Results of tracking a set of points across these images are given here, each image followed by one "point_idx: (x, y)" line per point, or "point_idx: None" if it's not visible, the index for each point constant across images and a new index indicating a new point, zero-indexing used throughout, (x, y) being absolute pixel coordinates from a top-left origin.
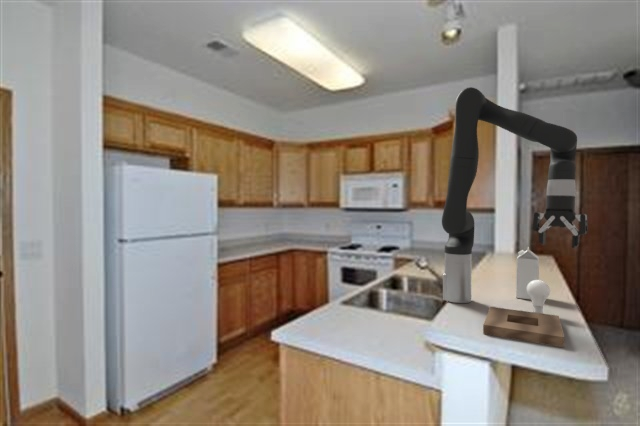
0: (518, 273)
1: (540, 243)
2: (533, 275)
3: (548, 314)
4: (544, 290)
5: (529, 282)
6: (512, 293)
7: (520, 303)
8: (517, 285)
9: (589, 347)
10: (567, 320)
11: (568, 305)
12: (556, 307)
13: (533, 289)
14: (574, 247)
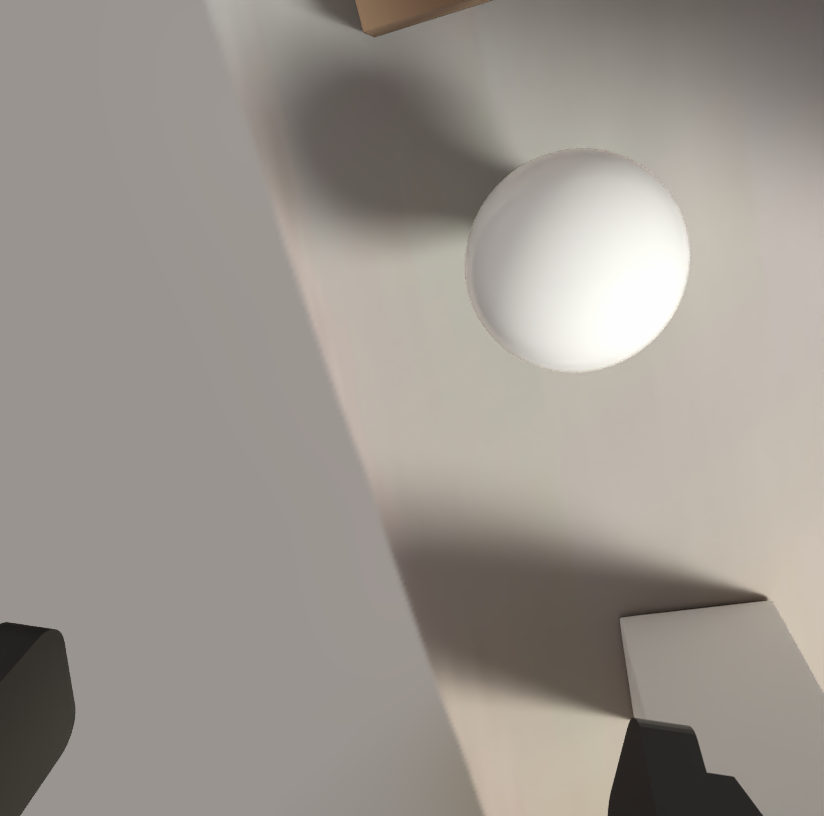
0: None
1: (695, 736)
2: None
3: (435, 2)
4: (501, 187)
5: (716, 711)
6: None
7: (720, 467)
8: (803, 672)
9: None
10: (353, 211)
11: (434, 617)
12: (484, 519)
13: (607, 156)
14: (6, 624)
